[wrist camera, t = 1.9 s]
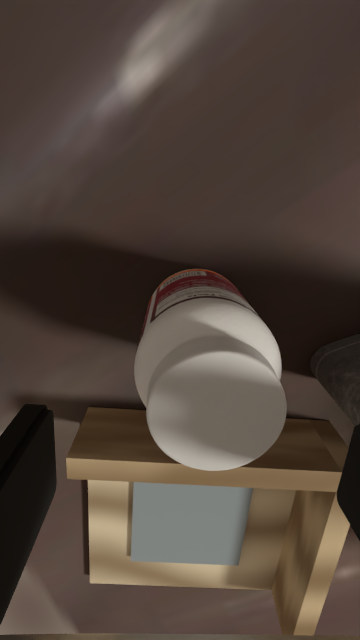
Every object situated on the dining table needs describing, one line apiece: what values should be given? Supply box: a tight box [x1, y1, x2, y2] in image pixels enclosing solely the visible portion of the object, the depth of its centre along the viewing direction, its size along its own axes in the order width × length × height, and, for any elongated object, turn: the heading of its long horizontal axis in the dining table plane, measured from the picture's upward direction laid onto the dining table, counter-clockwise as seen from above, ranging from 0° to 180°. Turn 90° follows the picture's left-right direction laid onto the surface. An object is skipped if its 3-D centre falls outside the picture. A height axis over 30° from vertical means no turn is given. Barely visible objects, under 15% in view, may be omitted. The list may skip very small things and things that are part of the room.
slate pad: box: [131, 482, 253, 566], centre depth 26 cm, size 9×9×1 cm
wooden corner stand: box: [66, 407, 350, 636], centre depth 24 cm, size 18×18×5 cm
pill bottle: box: [134, 269, 287, 471], centre depth 16 cm, size 6×6×11 cm
